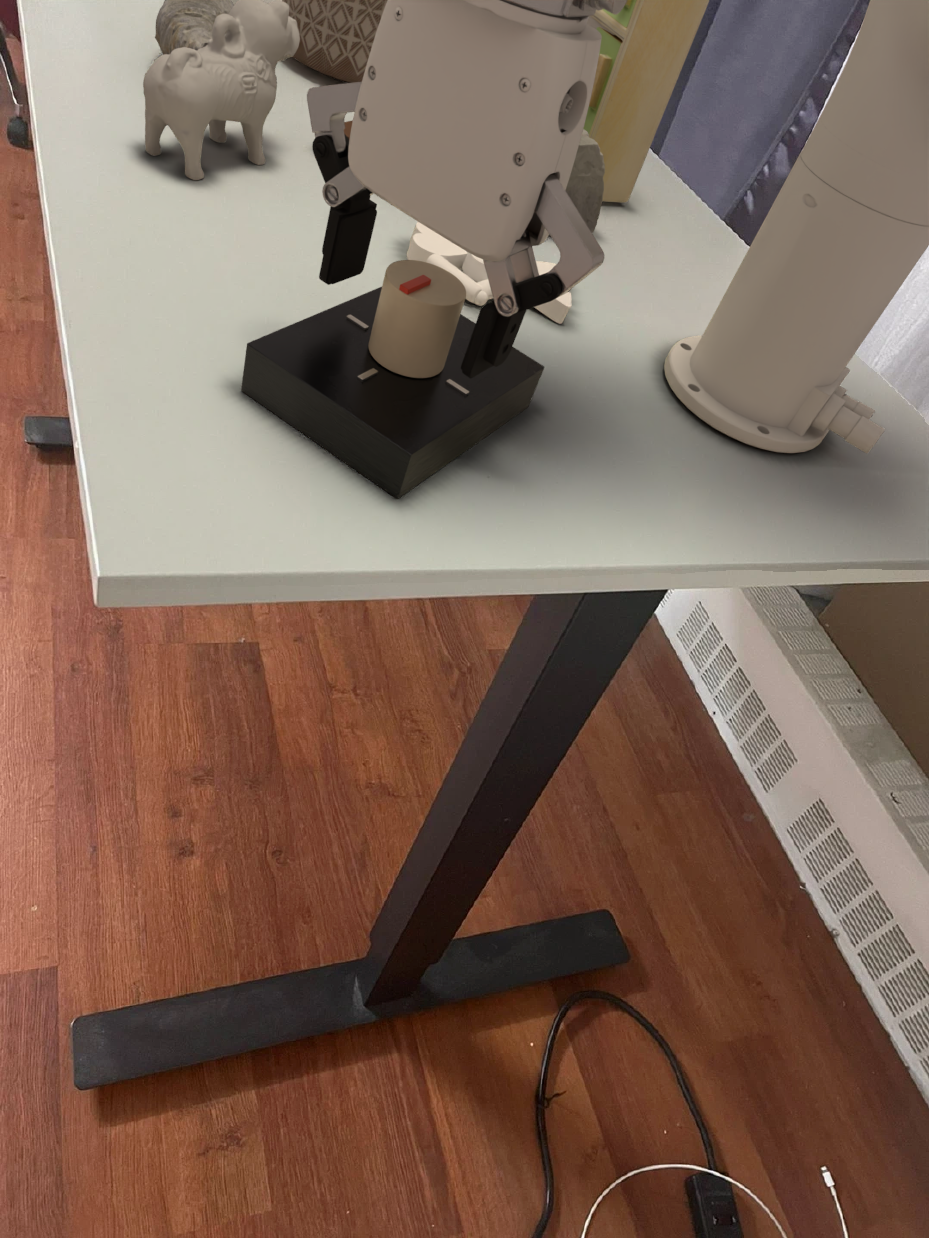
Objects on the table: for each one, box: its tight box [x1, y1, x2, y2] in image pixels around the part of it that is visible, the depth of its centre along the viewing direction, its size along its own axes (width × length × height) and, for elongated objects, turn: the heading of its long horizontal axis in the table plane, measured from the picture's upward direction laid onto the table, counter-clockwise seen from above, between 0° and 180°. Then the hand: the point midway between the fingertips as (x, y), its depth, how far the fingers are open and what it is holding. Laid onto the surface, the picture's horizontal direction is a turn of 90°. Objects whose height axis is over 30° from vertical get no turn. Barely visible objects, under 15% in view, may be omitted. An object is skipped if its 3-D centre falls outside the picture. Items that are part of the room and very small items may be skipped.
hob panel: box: [240, 286, 545, 499], centre depth 52 cm, size 14×11×3 cm
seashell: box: [154, 0, 235, 55], centre depth 74 cm, size 6×14×8 cm, turn 5°
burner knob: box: [368, 259, 466, 378], centre depth 49 cm, size 4×4×5 cm
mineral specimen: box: [565, 129, 605, 234], centre depth 73 cm, size 7×9×8 cm
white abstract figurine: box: [406, 221, 572, 325], centre depth 65 cm, size 9×12×2 cm
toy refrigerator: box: [583, 0, 710, 203], centre depth 77 cm, size 8×7×21 cm
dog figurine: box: [142, 0, 300, 181], centre depth 64 cm, size 5×13×11 cm, turn 149°
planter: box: [281, 0, 387, 83], centre depth 83 cm, size 13×13×10 cm
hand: (408, 321), depth 49 cm, fingers open, 9 cm apart
